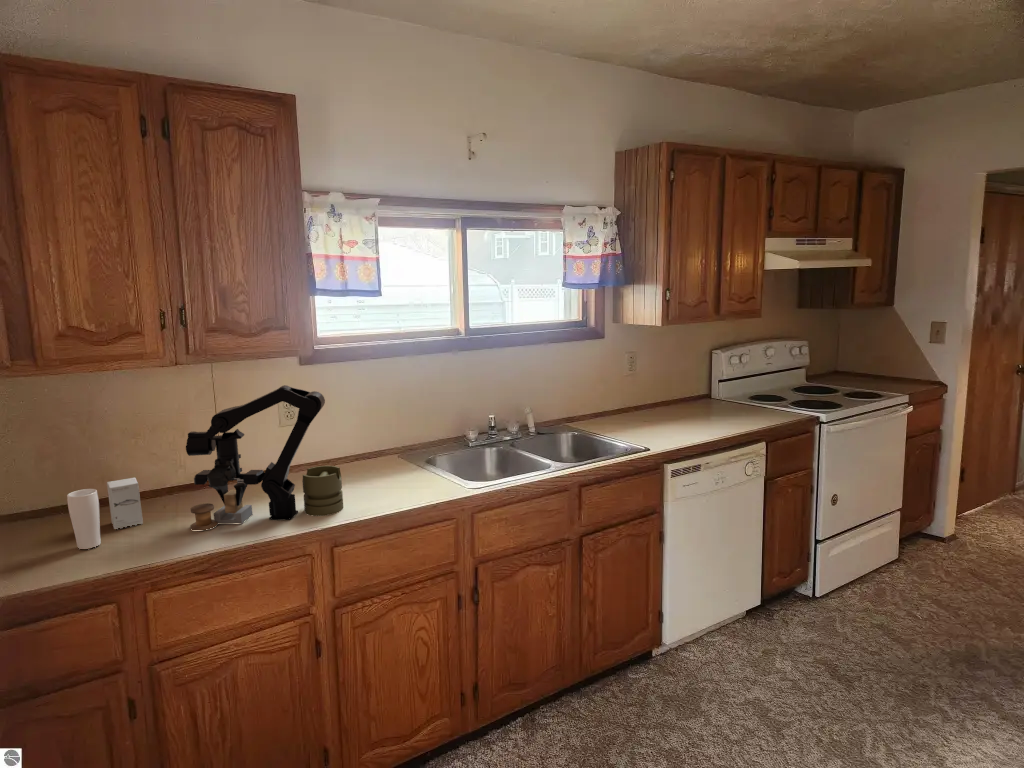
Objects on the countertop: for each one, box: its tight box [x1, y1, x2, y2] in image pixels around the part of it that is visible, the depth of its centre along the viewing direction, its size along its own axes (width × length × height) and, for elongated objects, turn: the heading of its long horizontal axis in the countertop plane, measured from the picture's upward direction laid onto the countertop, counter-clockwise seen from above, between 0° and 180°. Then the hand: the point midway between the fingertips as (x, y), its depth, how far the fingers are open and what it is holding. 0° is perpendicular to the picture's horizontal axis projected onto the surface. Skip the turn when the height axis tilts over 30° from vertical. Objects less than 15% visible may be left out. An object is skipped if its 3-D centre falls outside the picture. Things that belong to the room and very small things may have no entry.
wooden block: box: [224, 488, 244, 513], centre depth 192 cm, size 3×4×6 cm, turn 176°
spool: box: [189, 502, 219, 531], centre depth 186 cm, size 7×7×6 cm
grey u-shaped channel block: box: [213, 504, 254, 524], centre depth 192 cm, size 8×7×3 cm
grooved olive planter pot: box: [302, 465, 344, 517], centre depth 198 cm, size 11×12×11 cm
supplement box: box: [106, 477, 144, 530], centre depth 189 cm, size 7×7×13 cm
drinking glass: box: [66, 488, 102, 550], centre depth 173 cm, size 7×7×15 cm
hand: (232, 505), depth 191 cm, fingers open, 3 cm apart
